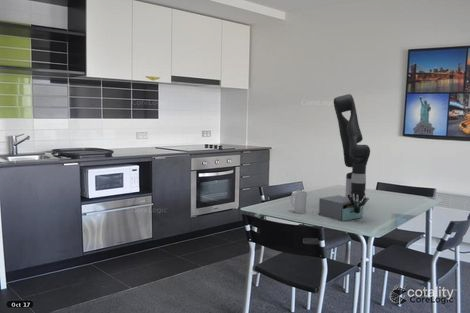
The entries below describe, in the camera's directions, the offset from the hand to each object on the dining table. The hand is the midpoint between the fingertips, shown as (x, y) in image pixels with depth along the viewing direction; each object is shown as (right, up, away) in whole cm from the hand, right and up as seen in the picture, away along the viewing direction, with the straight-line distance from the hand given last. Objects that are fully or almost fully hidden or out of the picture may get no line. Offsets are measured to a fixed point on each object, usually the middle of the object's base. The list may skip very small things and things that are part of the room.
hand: (357, 213), depth 230 cm
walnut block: (-4, -1, +6) cm, 8 cm away
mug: (-29, -2, +18) cm, 35 cm away
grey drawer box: (-7, -3, +10) cm, 13 cm away
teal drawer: (-6, -3, +8) cm, 10 cm away
